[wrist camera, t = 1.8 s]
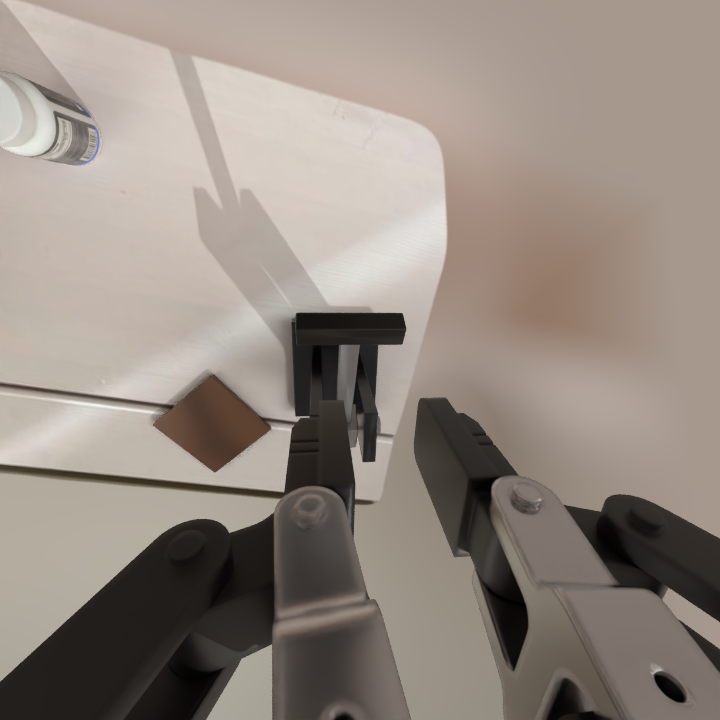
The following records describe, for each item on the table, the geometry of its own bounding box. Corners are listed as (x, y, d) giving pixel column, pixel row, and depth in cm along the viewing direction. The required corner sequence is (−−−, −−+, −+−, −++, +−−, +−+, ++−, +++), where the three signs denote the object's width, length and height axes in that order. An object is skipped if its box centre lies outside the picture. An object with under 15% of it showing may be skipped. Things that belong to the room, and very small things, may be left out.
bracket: (292, 318, 37) (278, 374, 24) (377, 319, 38) (408, 371, 25) (296, 411, 41) (286, 499, 28) (372, 408, 42) (397, 493, 29)
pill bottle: (25, 112, 28) (-88, 72, 20) (78, 89, 28) (-14, 40, 20) (65, 175, 30) (-23, 161, 22) (116, 154, 30) (45, 132, 22)
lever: (296, 305, 20) (294, 336, 18) (401, 306, 20) (408, 336, 19) (305, 423, 30) (304, 449, 28) (375, 420, 30) (378, 446, 29)
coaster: (212, 374, 38) (211, 376, 37) (271, 426, 41) (270, 429, 41) (154, 422, 39) (152, 425, 39) (216, 469, 42) (214, 472, 42)
